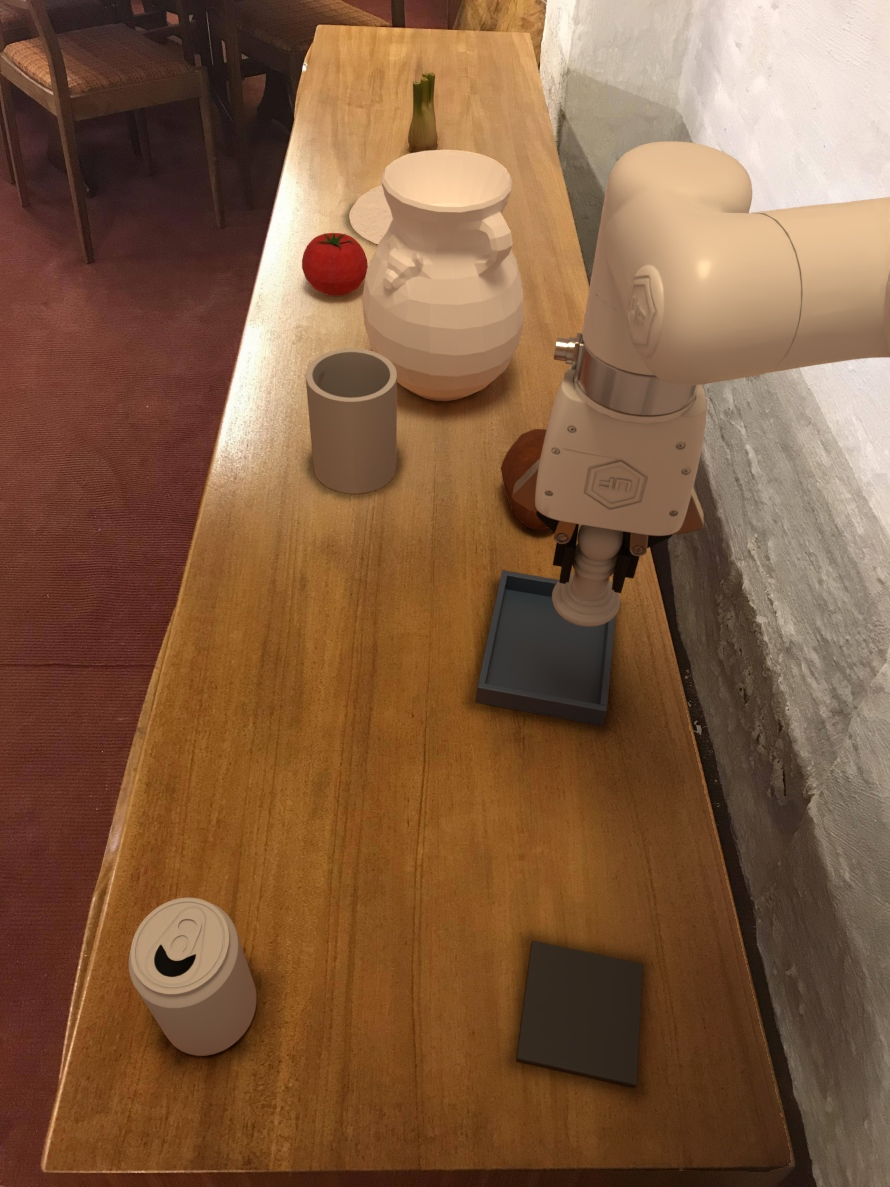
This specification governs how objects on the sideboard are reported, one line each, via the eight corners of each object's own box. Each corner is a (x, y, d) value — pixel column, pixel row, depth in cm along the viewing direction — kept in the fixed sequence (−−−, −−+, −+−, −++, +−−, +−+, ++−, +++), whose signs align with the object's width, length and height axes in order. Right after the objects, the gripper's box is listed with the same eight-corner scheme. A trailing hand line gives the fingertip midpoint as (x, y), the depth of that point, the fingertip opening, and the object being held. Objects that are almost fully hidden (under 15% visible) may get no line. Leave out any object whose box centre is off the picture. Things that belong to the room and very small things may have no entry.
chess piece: (617, 579, 73) (636, 498, 66) (621, 631, 69) (641, 551, 62) (551, 575, 73) (563, 494, 66) (551, 627, 69) (564, 546, 63)
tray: (602, 726, 78) (606, 711, 76) (475, 702, 79) (477, 687, 78) (613, 605, 87) (618, 589, 86) (500, 585, 89) (502, 569, 87)
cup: (395, 494, 97) (395, 403, 88) (310, 492, 96) (301, 400, 87) (397, 440, 103) (397, 349, 94) (317, 438, 102) (310, 346, 93)
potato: (499, 537, 93) (506, 479, 87) (496, 464, 101) (502, 406, 95) (572, 540, 93) (584, 482, 87) (564, 467, 101) (574, 409, 95)
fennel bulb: (414, 160, 152) (416, 82, 143) (400, 148, 154) (400, 72, 145) (444, 153, 154) (447, 77, 145) (429, 142, 156) (431, 67, 148)
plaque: (424, 175, 147) (424, 166, 146) (507, 225, 138) (507, 216, 136) (323, 215, 139) (322, 205, 138) (404, 271, 129) (404, 262, 128)
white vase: (334, 372, 111) (321, 166, 92) (445, 321, 119) (455, 123, 101) (433, 448, 102) (442, 237, 83) (546, 388, 110) (577, 184, 92)
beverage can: (146, 1044, 60) (102, 984, 51) (187, 950, 64) (153, 879, 55) (236, 1070, 59) (208, 1014, 50) (271, 973, 63) (251, 905, 54)
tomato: (381, 286, 125) (380, 230, 119) (342, 313, 119) (339, 257, 113) (330, 266, 127) (327, 211, 121) (290, 292, 122) (285, 236, 116)
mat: (635, 1087, 59) (637, 1085, 59) (515, 1060, 60) (516, 1058, 60) (641, 966, 65) (643, 963, 64) (531, 943, 65) (532, 940, 65)
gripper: (495, 382, 53) (476, 592, 67) (780, 424, 51) (700, 630, 65) (513, 317, 58) (492, 524, 72) (773, 353, 56) (701, 558, 70)
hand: (591, 573), depth 68 cm, fingers closed on chess piece, 3 cm apart
